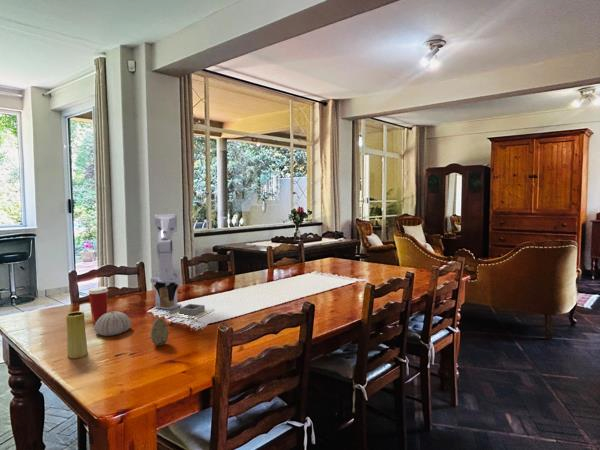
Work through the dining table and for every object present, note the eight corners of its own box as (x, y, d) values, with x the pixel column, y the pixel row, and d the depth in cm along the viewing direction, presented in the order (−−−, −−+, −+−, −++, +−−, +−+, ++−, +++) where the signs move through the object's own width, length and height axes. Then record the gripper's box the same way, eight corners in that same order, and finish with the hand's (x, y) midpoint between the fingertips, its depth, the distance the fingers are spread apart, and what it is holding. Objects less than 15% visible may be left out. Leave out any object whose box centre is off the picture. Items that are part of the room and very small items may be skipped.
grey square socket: (169, 317, 179) (169, 309, 179) (188, 308, 193) (188, 301, 192) (196, 320, 175) (196, 312, 174) (214, 311, 188) (213, 304, 187)
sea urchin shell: (96, 340, 151) (95, 319, 151) (92, 330, 163) (91, 310, 162) (134, 333, 158) (133, 313, 158) (128, 324, 170) (127, 305, 169)
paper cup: (113, 318, 177) (112, 287, 175) (99, 324, 169) (97, 291, 168) (99, 317, 179) (97, 285, 178) (85, 322, 172) (83, 289, 171)
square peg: (160, 306, 172) (159, 288, 171) (166, 304, 176) (165, 286, 175) (168, 307, 170) (167, 288, 170) (174, 305, 174) (173, 286, 173)
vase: (72, 351, 141) (70, 311, 139) (91, 351, 141) (88, 310, 140) (63, 359, 135) (61, 316, 133) (83, 358, 135) (80, 316, 134)
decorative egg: (152, 349, 142) (150, 321, 141) (150, 343, 148) (149, 316, 147) (169, 346, 144) (168, 319, 144) (168, 340, 150) (167, 314, 149)
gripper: (145, 269, 170) (146, 301, 171) (174, 271, 165) (175, 304, 167) (156, 266, 177) (157, 296, 178) (184, 268, 172) (185, 299, 173)
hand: (167, 300), depth 173 cm, fingers closed on square peg, 4 cm apart
